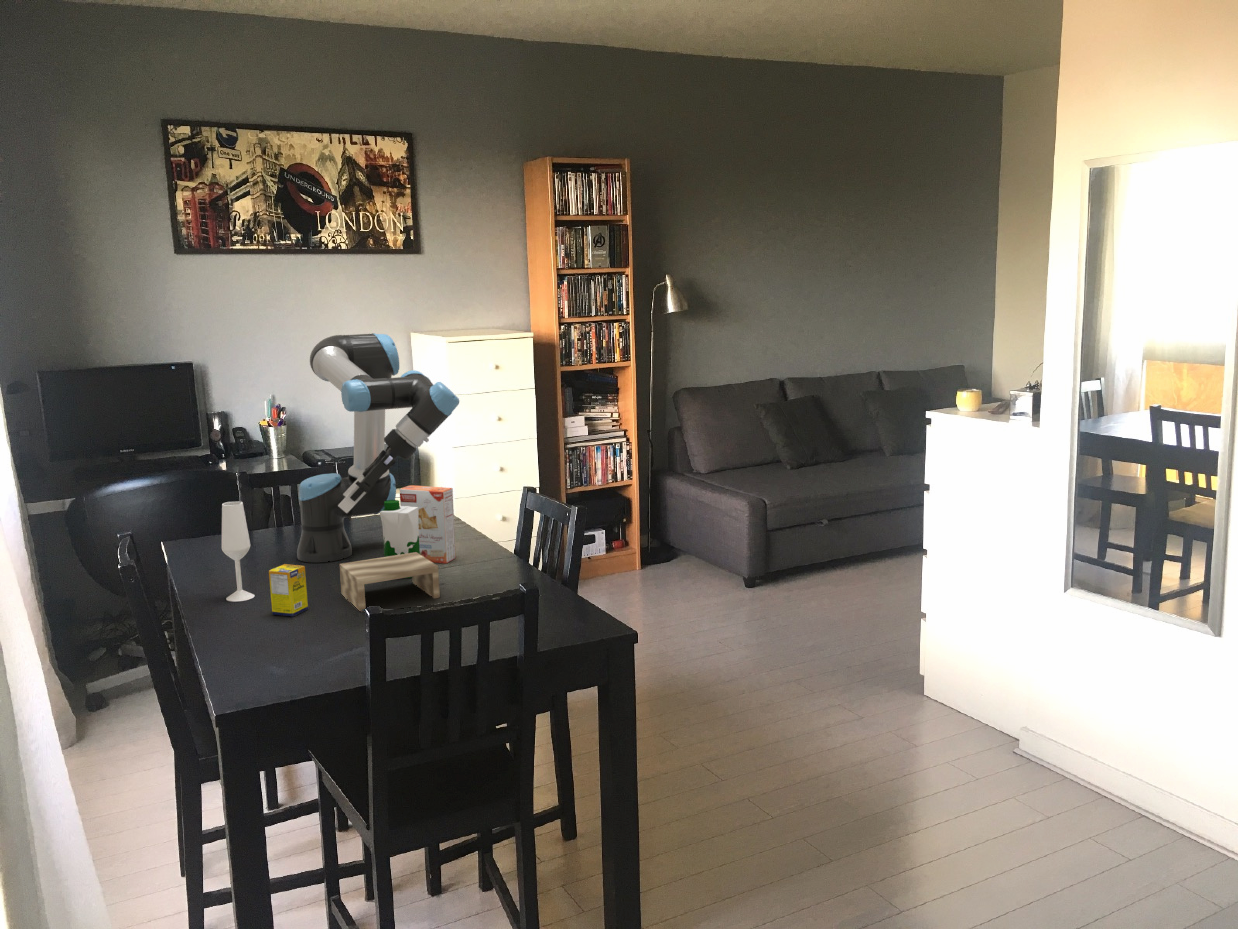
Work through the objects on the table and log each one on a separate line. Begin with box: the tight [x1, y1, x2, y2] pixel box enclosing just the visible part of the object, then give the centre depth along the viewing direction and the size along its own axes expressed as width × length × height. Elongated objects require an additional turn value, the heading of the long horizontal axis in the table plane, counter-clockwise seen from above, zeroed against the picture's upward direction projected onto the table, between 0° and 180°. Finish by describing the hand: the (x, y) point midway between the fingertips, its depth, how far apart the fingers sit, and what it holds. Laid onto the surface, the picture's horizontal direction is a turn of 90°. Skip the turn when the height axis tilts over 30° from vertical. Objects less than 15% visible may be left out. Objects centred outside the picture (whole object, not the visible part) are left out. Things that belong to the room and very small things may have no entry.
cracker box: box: [399, 484, 457, 565], centre depth 273 cm, size 14×6×21 cm, turn 71°
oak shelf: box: [338, 552, 440, 612], centre depth 241 cm, size 16×20×8 cm
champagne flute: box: [221, 501, 255, 602], centre depth 240 cm, size 7×7×24 cm
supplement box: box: [268, 563, 309, 617], centre depth 229 cm, size 6×6×11 cm
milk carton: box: [379, 499, 420, 579], centre depth 259 cm, size 9×9×20 cm
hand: (344, 503), depth 230 cm, fingers open, 13 cm apart
